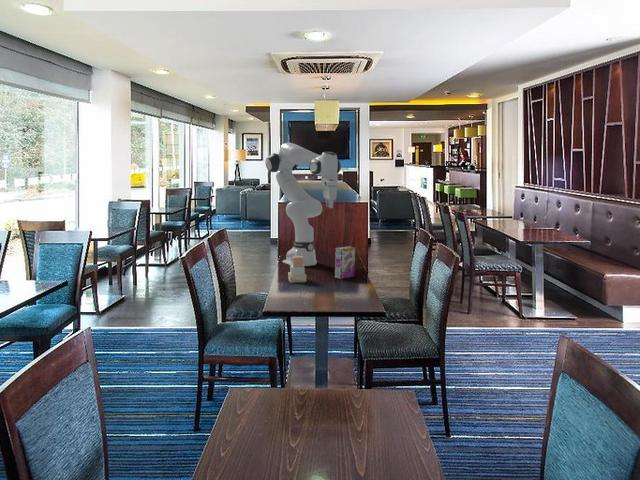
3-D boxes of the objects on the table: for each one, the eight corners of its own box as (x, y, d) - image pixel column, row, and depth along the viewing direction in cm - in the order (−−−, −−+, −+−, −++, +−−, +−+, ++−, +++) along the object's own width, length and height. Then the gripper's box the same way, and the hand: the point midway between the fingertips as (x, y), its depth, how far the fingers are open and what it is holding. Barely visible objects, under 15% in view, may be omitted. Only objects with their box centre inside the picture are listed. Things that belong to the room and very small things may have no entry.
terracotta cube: (293, 265, 297) (292, 256, 296) (302, 265, 297) (302, 255, 296) (293, 267, 292) (293, 257, 291) (303, 267, 292) (303, 257, 291)
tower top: (290, 272, 298) (290, 264, 298) (303, 272, 299) (303, 264, 299) (291, 275, 292) (291, 267, 291) (304, 274, 292) (304, 267, 292)
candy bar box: (341, 279, 298) (341, 249, 295) (334, 278, 301) (334, 248, 299) (355, 276, 305) (355, 246, 303) (348, 275, 309) (348, 245, 307)
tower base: (288, 279, 299) (288, 272, 299) (304, 279, 301) (304, 271, 300) (290, 283, 291) (290, 275, 290) (306, 282, 292) (306, 274, 292)
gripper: (320, 181, 314) (320, 205, 316) (327, 182, 294) (327, 209, 296) (331, 181, 315) (331, 205, 317) (339, 182, 295) (338, 208, 297)
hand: (329, 207), depth 306 cm, fingers open, 8 cm apart
